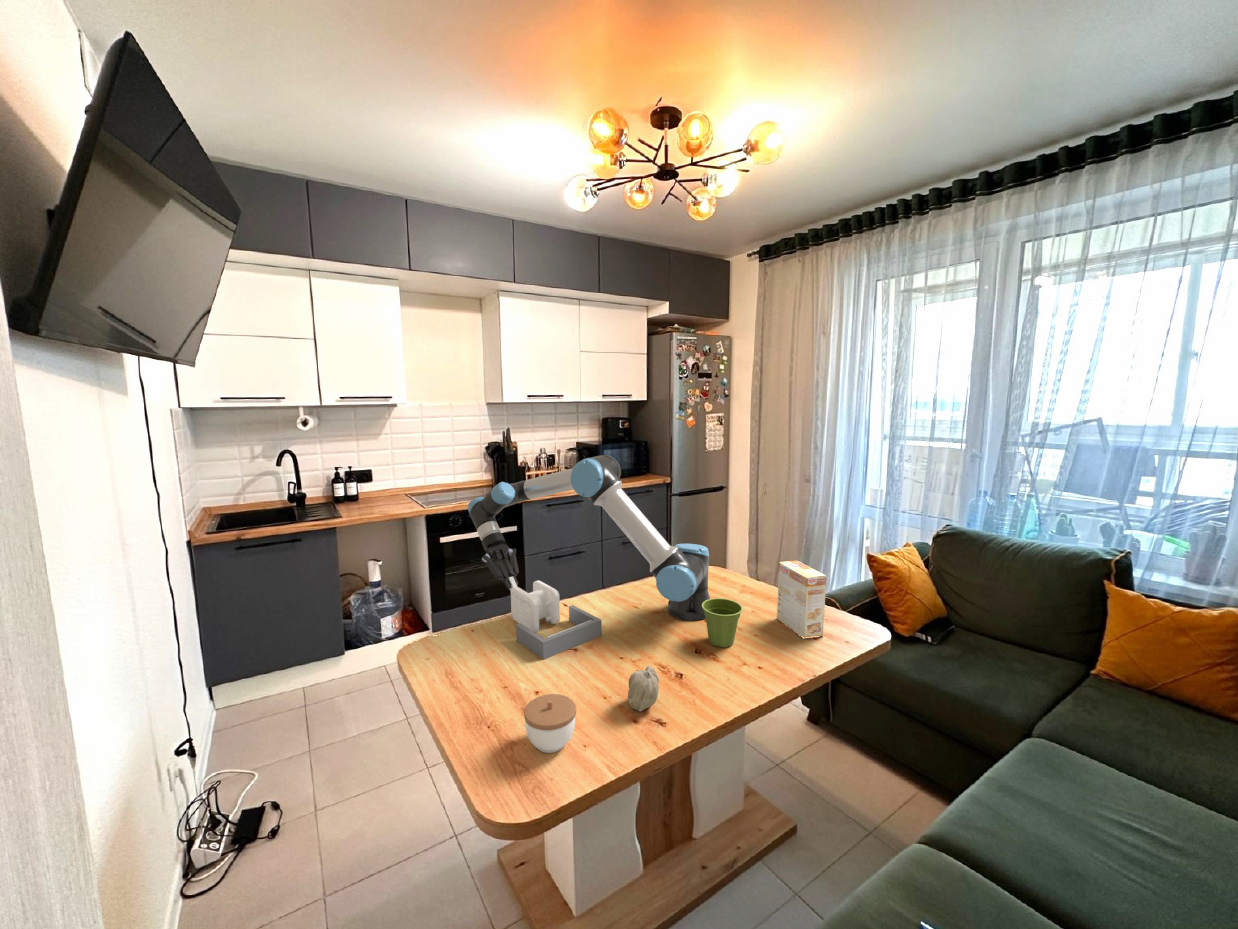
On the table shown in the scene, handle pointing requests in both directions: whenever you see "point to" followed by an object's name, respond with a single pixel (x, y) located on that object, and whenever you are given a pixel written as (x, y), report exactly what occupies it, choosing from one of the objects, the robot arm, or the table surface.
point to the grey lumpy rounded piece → (643, 689)
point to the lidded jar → (550, 721)
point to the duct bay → (561, 634)
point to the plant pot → (721, 620)
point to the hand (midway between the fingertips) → (516, 595)
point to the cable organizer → (535, 605)
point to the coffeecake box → (801, 598)
